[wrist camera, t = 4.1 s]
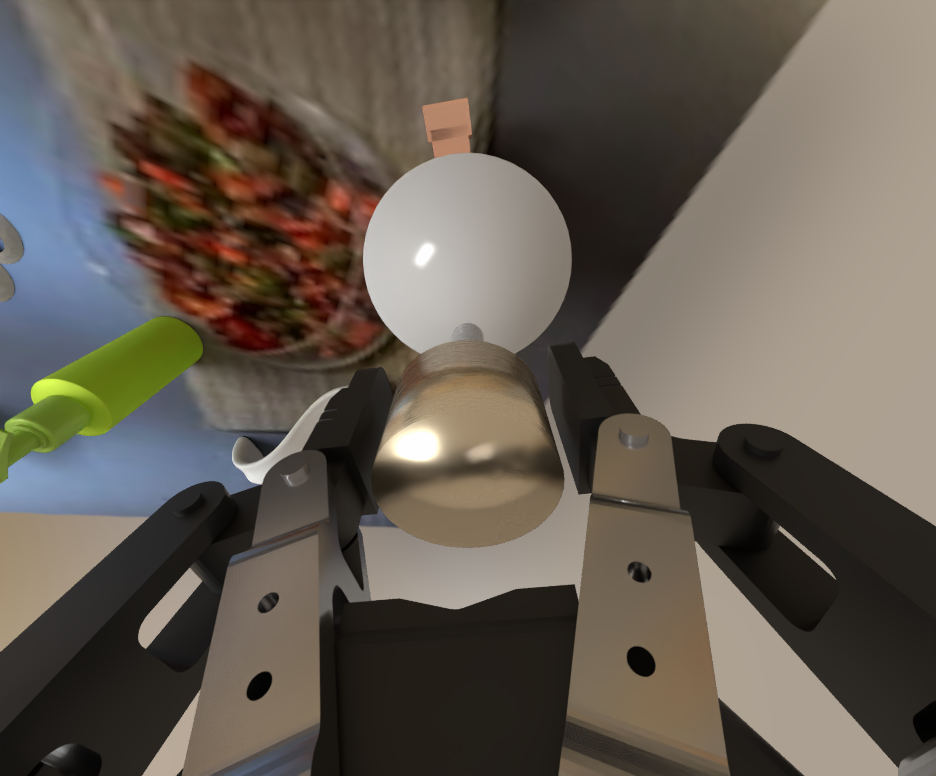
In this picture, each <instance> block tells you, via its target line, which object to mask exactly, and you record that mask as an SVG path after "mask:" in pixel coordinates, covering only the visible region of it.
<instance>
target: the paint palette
mask: <svg viewBox="0 0 936 776" xmlns="http://www.w3.org/2000/svg"><path fill="white" fill-rule="evenodd" d="M0 238H1V240H2V241H3V243H4V245H5V247H4V250H3V251H2V252H0V263H2V264H13V263H15V262H18V261H19V260H20V259H21V258H22V256H23V251H24V249H23V245H22V241H21V238H20V236H19V234H18V233H17V231H16V230H15V228H14V227H13V226H12V225H11V223H10V222H9V221H8V220H7V219H6V218H5V217H4V216H2V215H1V214H0ZM13 295H14V283H13V281H12V279H11V277H10V275H9V274H8V273H7V271H6V270H5V268H4V267H3V266H2V265H1V264H0V302H5V301H7V300H9V299H10V298H12V297H13Z"/></svg>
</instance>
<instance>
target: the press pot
mask: <svg viewBox="0 0 936 776" xmlns="http://www.w3.org/2000/svg"><path fill="white" fill-rule="evenodd" d="M422 108H423V114H424V120H425V126H426V132H427V138H428V142H429V143H432V145H433V151H434V157H435V158H434V159H432V160H430V161H427V162H425V163H422V164H420V165H419V166H417V167H415V168H414V169H412V170H410V171H409V172H407V173H406V174H405V175H404V176H402V177H401V178H400V179H399V180H398V181H396V182H395V183H394V184H393V186H392V187H391V188H390V189H389V190H388V191H387V192H386V194H385V195H384V196H383V198H382V199H381V201H380V203H379V204H378V206H377V207H376V209H375V212H374V214H373V216H372V218H371V220H370V223H369V227H368V230H367V233H366V238H365V244H364V257H363V264H364V274H365V280H366V284H367V289H368V292H369V294H370V297H371V300H372V302H373V304H374V306H375V308H376V310H377V312H378V314H379V316H380V317H381V318H382V320H383V321H384V323H385V324H386V325H387V327H388V328H389V329H390V330H391V331H392V332H393V334H395V335H396V336H397V337H398V338H399V339H400V340H401V341H402V342H403V343H405V344H406V345H408V346H409V347H410V348H412V349H413V350H415V351H417V352H419V353H421V354H422V353H423V352H425V351H426V350H428V349H430V348H433V347H435V346H437V345H440V344H443V343H447V342H451V339H452V333H453V331H454V329H455V328H456V327H457V326H459V325H460V324H463V323H472V324H475V325H477V326H478V327H479V328H480V329H481V330H482V332H483V336H484V342H489V343H492V344H495V345H498V346H501V347H503V348H505V349H507V350H509V351H510V352H512V353H514V354H515V353H516V352H518V351H520V350H522V349H523V348H525V347H526V346H528V345H529V344H530V343H532V342H533V341H534V340H535V339H536V338H537V337H538V336H539V335H540V334H542V333H543V332H544V330H545V329H546V328H547V327H548V326H549V324H550V323H551V322H552V320H553V319H554V317H555V316H556V314H557V312H558V311H559V309H560V307H561V305H562V302H563V300H564V298H565V295H566V292H567V289H568V285H569V280H570V275H571V264H572V254H571V243H570V238H569V233H568V229H567V226H566V223H565V220H564V217H563V215H562V213H561V211H560V209H559V208H558V206H557V204H556V202H555V201H554V199H553V198H552V197H551V195H550V194H549V192H548V191H547V190H546V189H545V188H544V187H543V186H542V185H541V184H540V182H539V181H538V180H536V179H535V178H534V177H533V176H531V175H530V174H529V173H528V172H526V171H525V170H523V169H522V168H520V167H518V166H516V165H515V164H513V163H511V162H508V161H505V160H503V159H500V158H498V157H494V156H490V155H485V154H480V153H470V145H469V139H471V136H472V130H471V122H470V113H469V105H468V98H463V99H457V100H452V101H446V102H441V103H436V104H430V105H425V106H422Z"/></svg>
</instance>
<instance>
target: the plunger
mask: <svg viewBox="0 0 936 776" xmlns="http://www.w3.org/2000/svg"><path fill="white" fill-rule="evenodd" d="M371 485H372V491H373V495H374V498H375V500H376V502H377V504H378V506H379V508H380V509H381V510H382V512H383V513H384V514H385V516H386V517H387V518H388V519H389V520H390V521H391V522H393V523H394V524H395V525H396V526H398V527H399V528H400V529H402V530H404V531H405V532H407V533H409V534H411V535H413V536H415V537H417V538H419V539H422V540H424V541H428V542H431V543H434V544H439V545H444V546H450V547H462V548H473V547H484V546H492V545H497V544H501V543H504V542H507V541H511V540H513V539H516V538H518V537H521V536H523V535H525V534H527V533H528V532H530V531H532V530H533V529H535V528H536V527H538V526H539V525H540V524H542V523H543V522H544V521H545V520H546V519H547V518H548V517H549V516H550V515H551V514H552V512H553V511H554V509H555V508H556V506H557V505H558V503H559V501H560V499H561V496H562V492H563V489H564V470H563V467H562V464H561V460H560V457H559V454H558V450H557V447H556V444H555V440H554V437H553V434H552V430H551V427H550V424H549V420H548V417H547V413H546V410H545V407H544V403H543V400H542V397H541V393H540V390H539V386H538V383H537V380H536V378H535V376H534V374H533V373H532V371H531V370H530V368H529V367H528V366H527V365H526V364H525V363H524V361H523V360H521V359H520V358H519V357H518V356H517V355H515V354H514V353H512V352H510V351H509V350H507V349H505V348H503V347H501V346H498V345H495V344H492V343H489V342H484V336H483V332H482V330H481V329H480V328H479V327H478V326H477V325H475V324H472V323H463V324H460V325H459V326H457V327H456V328H455V329H454V331H453V333H452V339H451V342H447V343H443V344H440V345H437V346H435V347H433V348H430V349H428V350H426V351H425V352H423V353H422V354H420V355H419V356H417V357H416V358H415V359H414V360H413V361H412V362H411V363H410V364H409V365H408V366H407V367H406V369H405V370H404V372H403V373H402V375H401V377H400V379H399V381H398V384H397V387H396V391H395V394H394V397H393V401H392V404H391V407H390V411H389V414H388V418H387V421H386V424H385V428H384V431H383V434H382V438H381V441H380V445H379V448H378V451H377V455H376V458H375V461H374V465H373V469H372V474H371Z"/></svg>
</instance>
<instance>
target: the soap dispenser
mask: <svg viewBox="0 0 936 776" xmlns="http://www.w3.org/2000/svg"><path fill="white" fill-rule="evenodd" d="M202 354H203V345H202V342H201V339H200V337H199V336H198V334H197V333H196V332H195V331H194V330H193V329H192V328H191V327H190V326H189V325H187V324H186V323H184V322H182V321H180V320H178V319H175V318H172V317H166V316H162V317H156V318H154V319H152V320H150V321H148V322H147V323H145V324H143V325H141V326H139V327H137V328H136V329H134V330H132V331H130V332H128V333H126V334H124V335H123V336H121V337H119V338H117V339H115V340H113V341H112V342H110V343H108V344H106V345H104V346H102V347H101V348H99V349H97V350H95V351H93V352H91V353H89V354H88V355H86V356H84V357H82V358H80V359H78V360H77V361H75V362H73V363H71V364H69V365H67V366H66V367H64V368H62V369H60V370H58V371H56V372H54V373H53V374H51V375H49V376H47V377H45V378H43V379H42V380H40V381H38V382H36V383H35V384H34V385H33V387H32V389H31V398H32V401H33V403H34V405H33V406H31V407H29V408H28V409H26V410H24V411H22V412H21V413H19V414H17V415H16V416H14V417H12V418H11V419H9V420H8V421H7V422H6V423H5V430H3V429H0V484H1V483H2V482H3V481H5V480H6V479H8V467H9V466H11V465H12V464H14V463H15V462H17V461H18V460H20V459H21V458H22V457H24V456H25V455H27V454H28V453H30V452H31V451H35V452H42V453H45V452H51V451H53V450H55V449H57V448H58V447H59V446H61V445H62V444H64V443H65V442H66V441H68V440H69V439H70V438H72V437H73V436H75V435H76V434H80V435H86V436H97V435H101V434H104V433H106V432H107V431H109V430H110V429H111V428H113V427H114V426H115V425H116V424H118V423H119V422H120V421H121V420H123V419H124V418H125V417H127V416H128V415H129V414H130V413H132V412H133V411H134V410H135V409H137V408H138V407H139V406H140V405H142V404H143V403H144V402H146V401H147V400H148V399H149V398H151V397H152V396H153V395H154V394H156V393H157V392H158V391H160V390H161V389H162V388H163V387H165V386H166V385H167V384H168V383H170V382H171V381H172V380H174V379H175V378H176V377H177V376H179V375H180V374H181V373H182V372H184V371H185V370H186V369H188V368H189V367H190V366H191V365H193V364H194V363H195V362H196V361H198V360H199V359H200V358H201V356H202Z"/></svg>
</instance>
